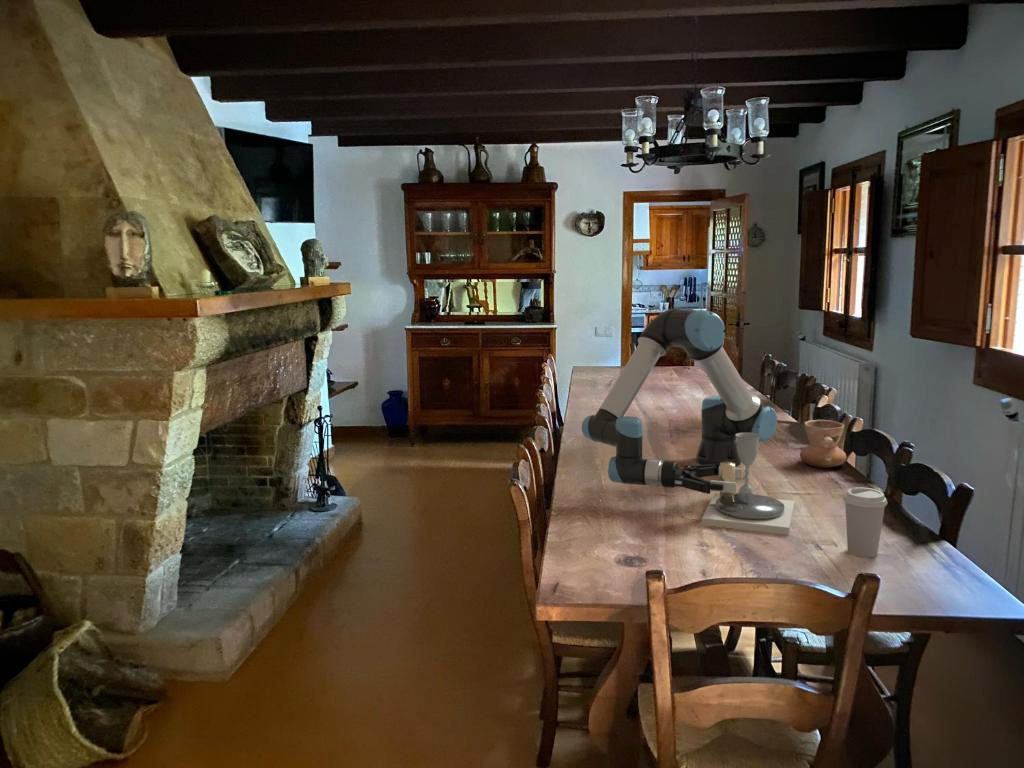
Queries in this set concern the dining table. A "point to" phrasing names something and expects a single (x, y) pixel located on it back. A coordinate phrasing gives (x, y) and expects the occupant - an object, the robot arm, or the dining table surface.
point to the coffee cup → (864, 520)
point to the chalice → (747, 456)
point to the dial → (745, 500)
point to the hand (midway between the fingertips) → (739, 480)
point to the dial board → (767, 525)
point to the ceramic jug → (823, 444)
